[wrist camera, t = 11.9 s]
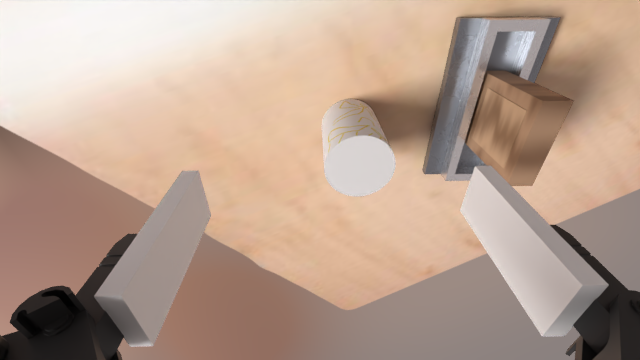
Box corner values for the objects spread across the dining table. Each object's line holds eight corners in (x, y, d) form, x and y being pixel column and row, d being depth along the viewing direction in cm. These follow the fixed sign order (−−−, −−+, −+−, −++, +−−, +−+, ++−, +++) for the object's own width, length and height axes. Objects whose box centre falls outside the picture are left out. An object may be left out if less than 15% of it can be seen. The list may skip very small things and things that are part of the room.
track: (456, 17, 36) (468, 20, 33) (553, 16, 36) (572, 19, 33) (422, 170, 48) (428, 181, 45) (494, 168, 48) (505, 179, 45)
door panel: (481, 70, 38) (542, 101, 28) (506, 70, 38) (574, 100, 28) (461, 140, 44) (505, 186, 34) (482, 139, 44) (533, 185, 34)
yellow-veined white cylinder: (380, 100, 41) (402, 137, 31) (371, 151, 46) (387, 197, 36) (323, 97, 41) (327, 133, 31) (319, 148, 45) (321, 194, 35)
